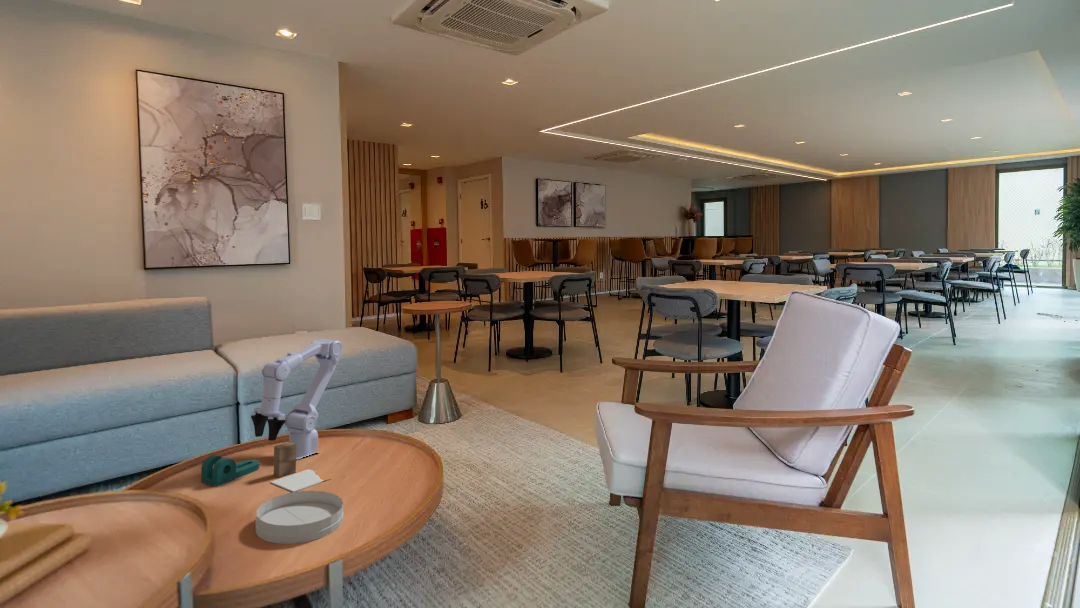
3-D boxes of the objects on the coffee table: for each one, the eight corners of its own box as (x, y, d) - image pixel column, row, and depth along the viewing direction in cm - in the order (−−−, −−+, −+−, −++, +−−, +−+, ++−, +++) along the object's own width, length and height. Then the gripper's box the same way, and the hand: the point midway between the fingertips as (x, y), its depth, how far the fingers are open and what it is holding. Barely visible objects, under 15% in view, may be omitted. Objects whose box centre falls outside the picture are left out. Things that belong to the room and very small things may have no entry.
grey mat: (309, 470, 190) (309, 469, 190) (332, 478, 184) (332, 477, 184) (270, 482, 178) (270, 481, 178) (293, 492, 172) (293, 491, 172)
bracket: (217, 487, 174) (217, 462, 173) (201, 483, 176) (201, 459, 175) (263, 468, 191) (263, 445, 190) (248, 464, 193) (248, 442, 192)
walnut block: (290, 470, 189) (290, 441, 189) (295, 472, 188) (296, 443, 187) (273, 475, 184) (274, 446, 183) (279, 478, 183) (279, 448, 182)
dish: (317, 500, 168) (318, 484, 168) (359, 524, 154) (359, 507, 154) (240, 524, 151) (240, 506, 151) (279, 554, 137) (279, 534, 137)
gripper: (247, 395, 190) (241, 435, 189) (273, 400, 183) (267, 443, 181) (267, 394, 196) (261, 434, 195) (292, 400, 189) (286, 441, 187)
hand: (265, 438), depth 189 cm, fingers open, 7 cm apart
